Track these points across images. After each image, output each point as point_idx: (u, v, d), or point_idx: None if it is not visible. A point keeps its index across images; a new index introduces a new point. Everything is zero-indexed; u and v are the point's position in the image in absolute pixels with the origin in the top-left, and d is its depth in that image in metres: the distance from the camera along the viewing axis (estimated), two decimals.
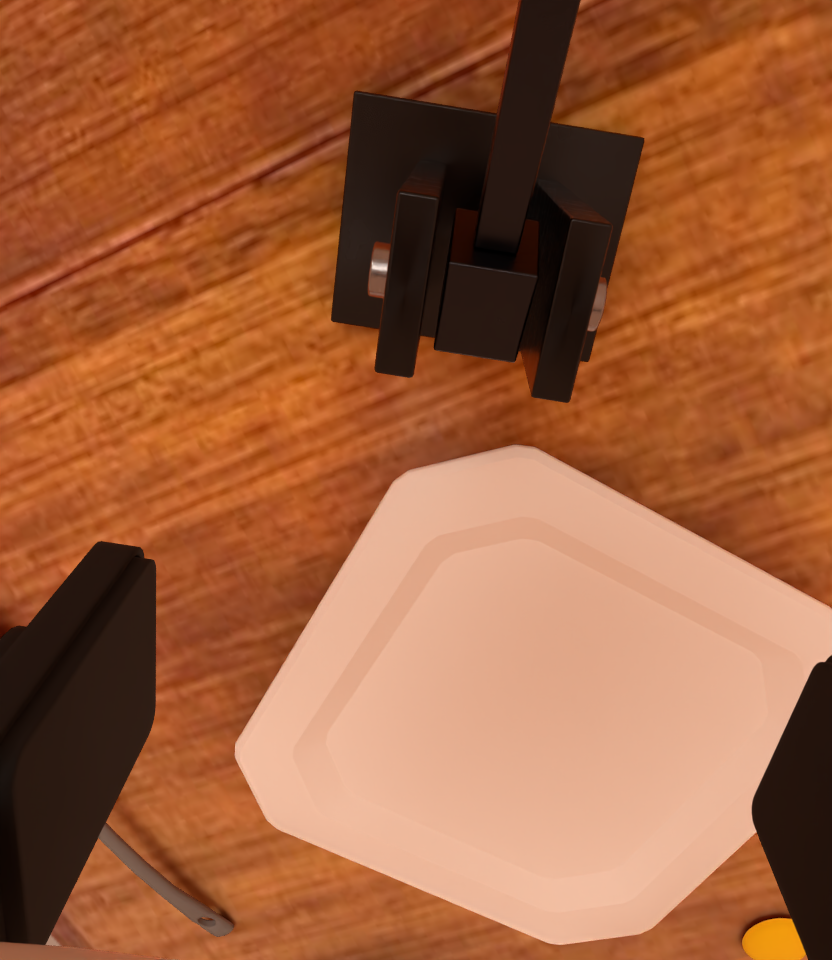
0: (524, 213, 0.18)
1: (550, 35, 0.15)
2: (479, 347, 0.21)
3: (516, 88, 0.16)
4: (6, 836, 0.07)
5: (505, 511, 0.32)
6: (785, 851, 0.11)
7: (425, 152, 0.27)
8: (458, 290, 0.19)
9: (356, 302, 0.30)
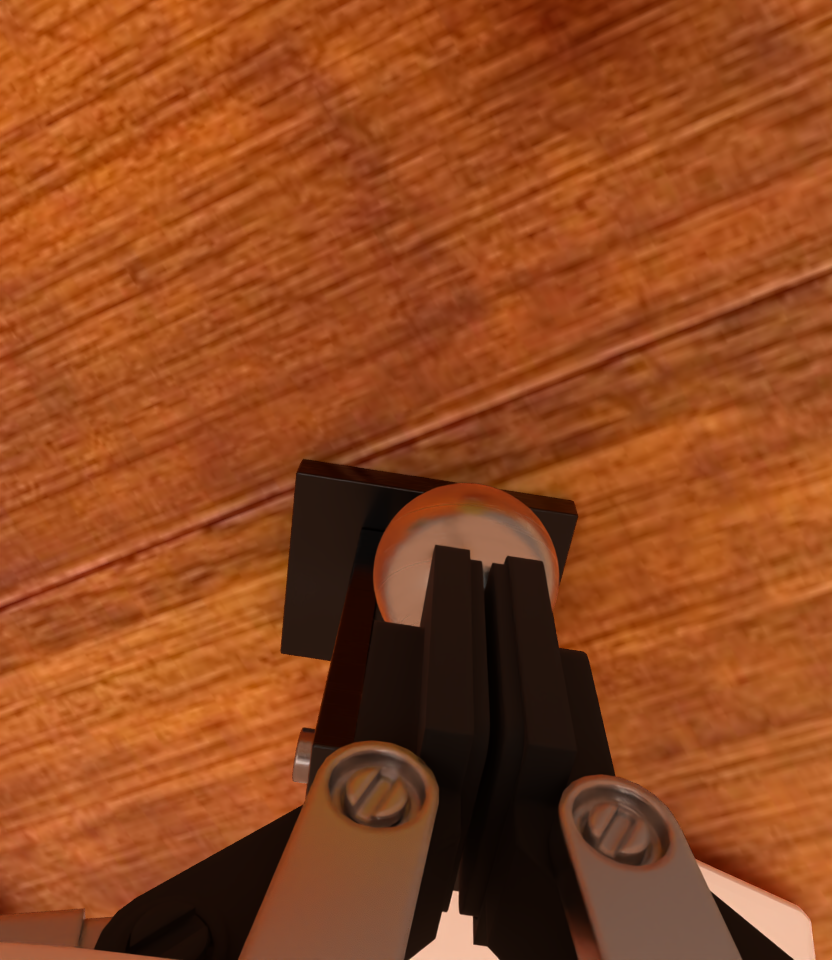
0: None
1: None
2: None
3: None
4: (466, 799, 0.09)
5: None
6: None
7: (366, 522, 0.28)
8: None
9: (304, 639, 0.31)
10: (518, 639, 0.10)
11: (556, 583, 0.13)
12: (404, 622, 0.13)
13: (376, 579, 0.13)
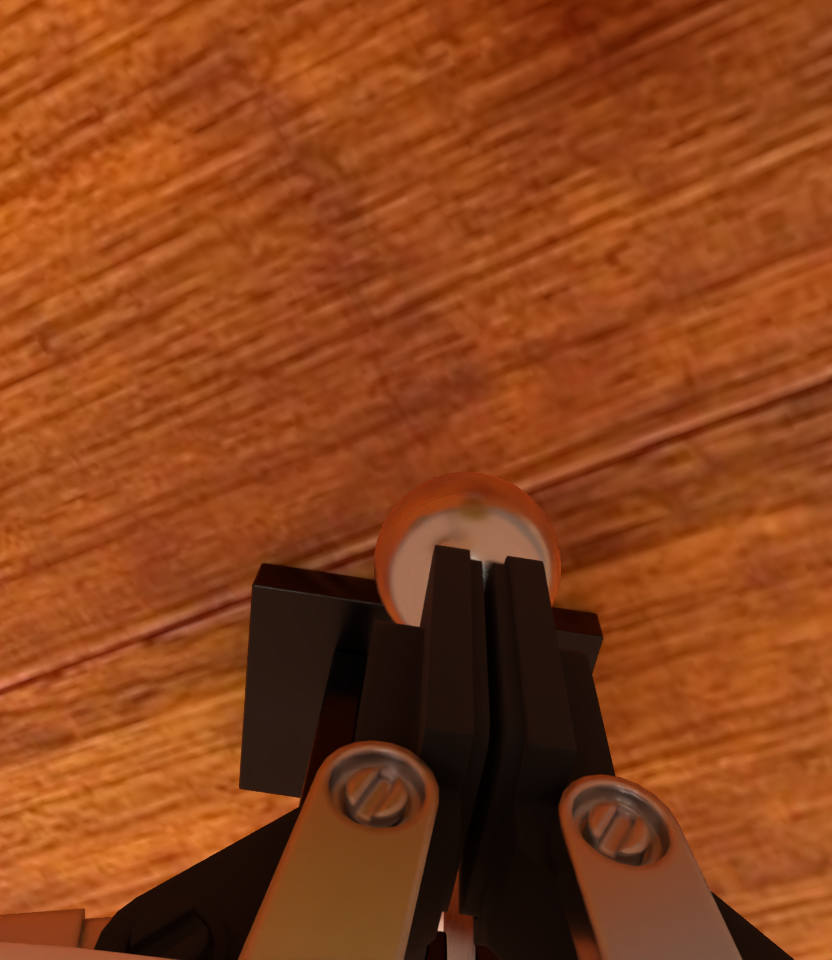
0: (426, 947, 0.15)
1: None
2: None
3: None
4: (466, 799, 0.09)
5: None
6: None
7: (341, 643, 0.23)
8: None
9: (267, 774, 0.25)
10: (518, 639, 0.10)
11: (559, 550, 0.13)
12: (414, 565, 0.12)
13: (380, 548, 0.13)
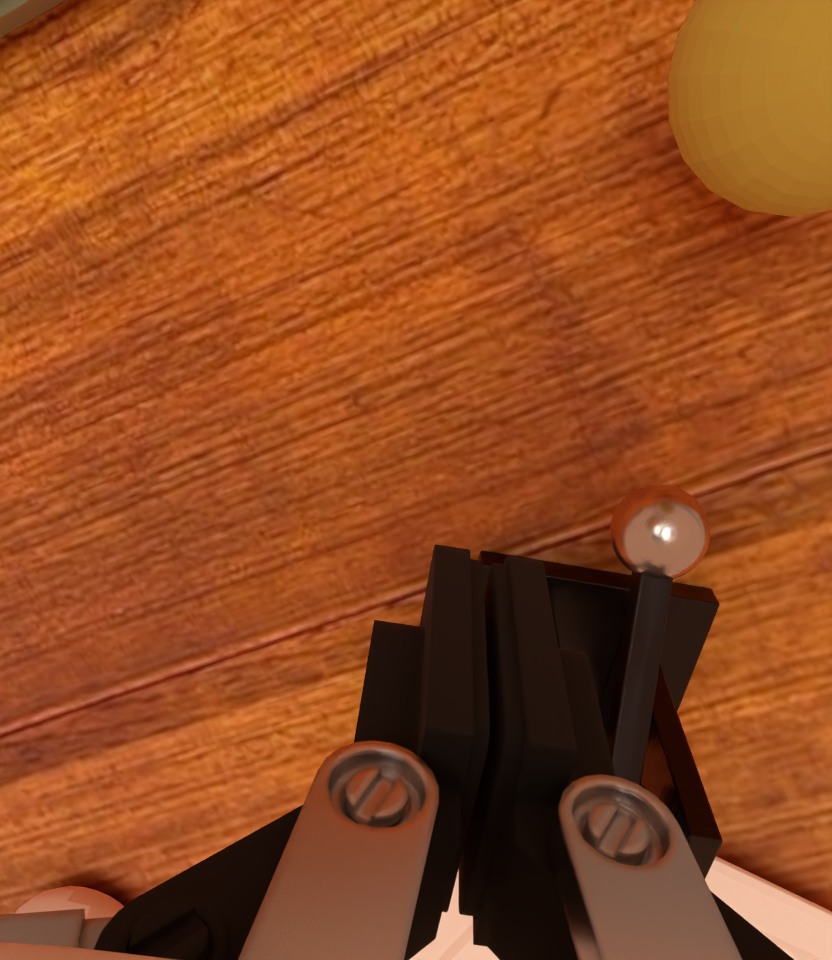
0: (643, 760, 0.26)
1: (651, 642, 0.26)
2: None
3: (633, 673, 0.26)
4: (466, 799, 0.09)
5: None
6: None
7: None
8: None
9: None
10: (518, 639, 0.10)
11: None
12: (644, 519, 0.25)
13: (620, 518, 0.26)
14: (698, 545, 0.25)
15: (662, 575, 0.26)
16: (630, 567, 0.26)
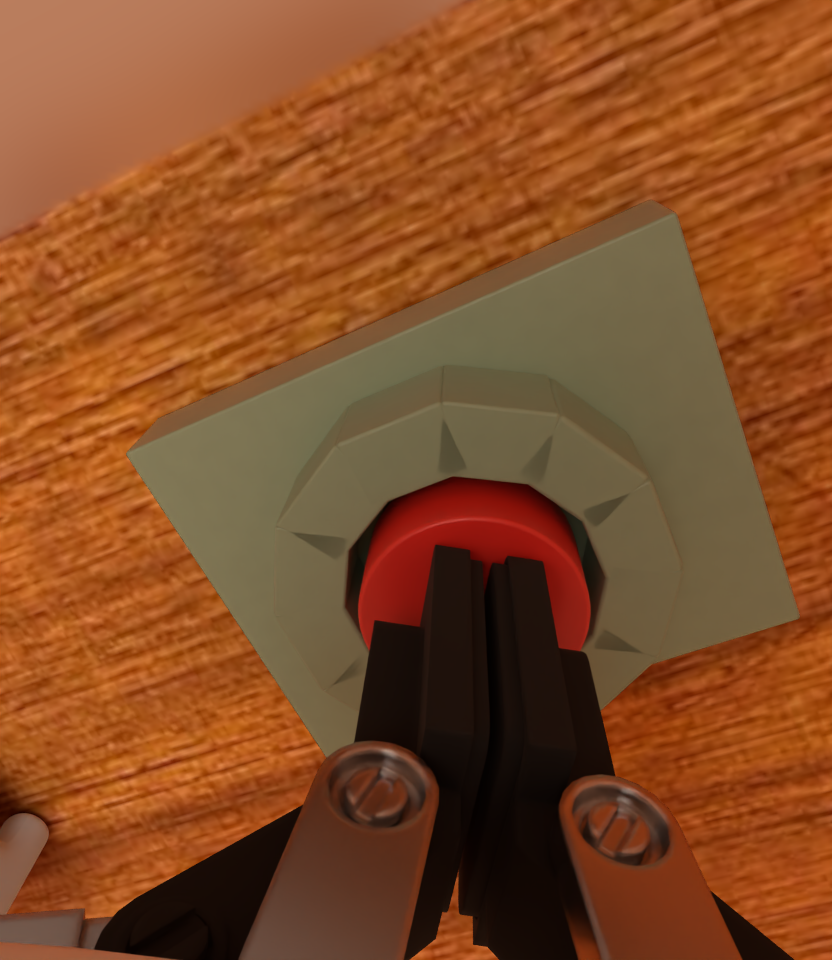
0: None
1: None
2: None
3: None
4: (466, 799, 0.09)
5: None
6: None
7: None
8: None
9: None
10: (518, 639, 0.10)
11: None
12: None
13: None
14: None
15: None
16: None
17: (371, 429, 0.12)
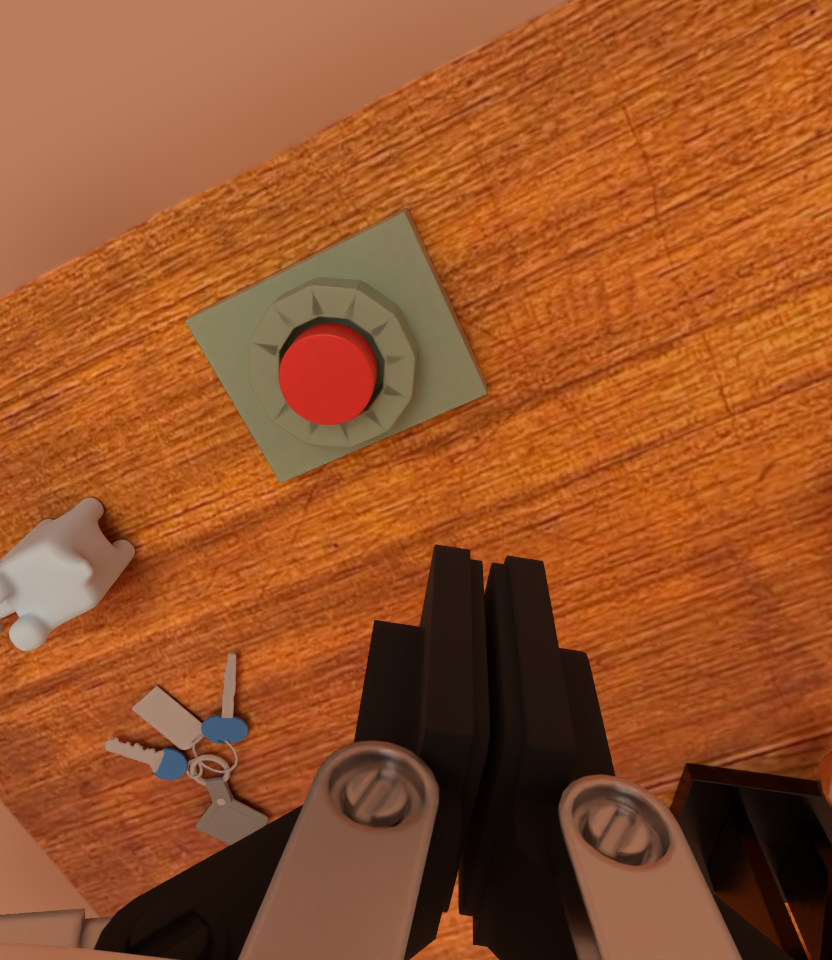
0: None
1: None
2: None
3: None
4: (467, 799, 0.09)
5: None
6: None
7: (733, 808, 0.42)
8: None
9: None
10: (518, 639, 0.10)
11: None
12: None
13: (829, 777, 0.35)
14: None
15: None
16: None
17: (285, 297, 0.30)
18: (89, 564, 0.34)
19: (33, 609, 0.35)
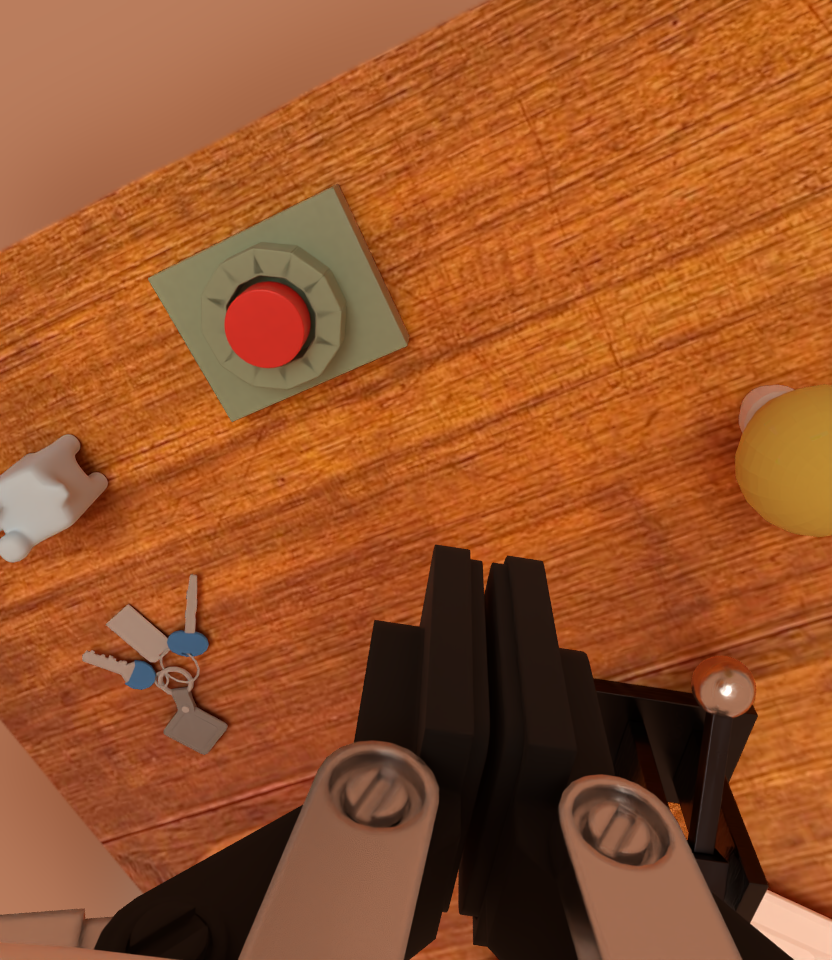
0: (716, 833, 0.41)
1: (720, 758, 0.41)
2: None
3: (708, 778, 0.41)
4: (466, 800, 0.09)
5: None
6: None
7: (632, 717, 0.48)
8: None
9: None
10: (518, 639, 0.10)
11: (754, 680, 0.42)
12: (715, 684, 0.41)
13: (699, 680, 0.41)
14: (750, 699, 0.41)
15: (726, 717, 0.41)
16: (705, 710, 0.41)
17: (230, 258, 0.35)
18: (65, 487, 0.39)
19: (17, 526, 0.40)
